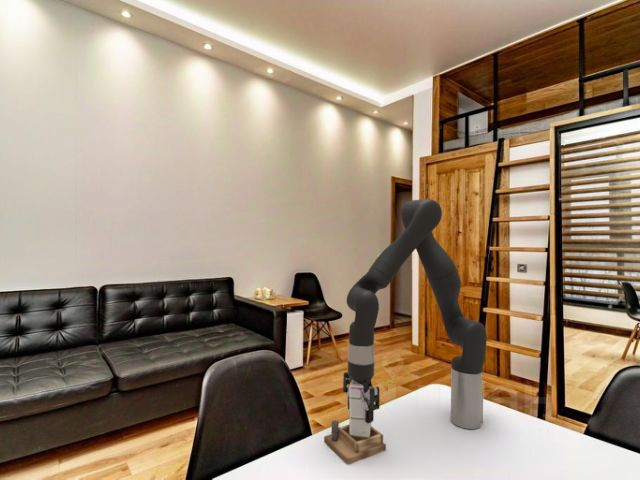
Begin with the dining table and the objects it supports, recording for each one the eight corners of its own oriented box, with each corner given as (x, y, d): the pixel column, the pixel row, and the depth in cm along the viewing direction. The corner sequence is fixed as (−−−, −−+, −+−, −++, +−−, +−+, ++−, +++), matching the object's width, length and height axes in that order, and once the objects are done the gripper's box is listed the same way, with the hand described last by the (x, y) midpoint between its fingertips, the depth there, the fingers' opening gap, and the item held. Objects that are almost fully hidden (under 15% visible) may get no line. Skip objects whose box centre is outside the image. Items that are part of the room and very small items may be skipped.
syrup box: (369, 438, 100) (370, 386, 100) (348, 435, 101) (349, 384, 101) (371, 427, 106) (371, 378, 105) (350, 425, 107) (351, 376, 106)
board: (360, 429, 112) (360, 408, 111) (386, 450, 101) (386, 427, 101) (324, 441, 105) (324, 419, 105) (347, 464, 95) (348, 440, 95)
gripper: (387, 364, 99) (386, 423, 99) (356, 349, 111) (355, 402, 111) (365, 369, 95) (364, 431, 95) (336, 353, 107) (335, 408, 108)
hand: (359, 415), depth 103 cm, fingers closed on syrup box, 8 cm apart
